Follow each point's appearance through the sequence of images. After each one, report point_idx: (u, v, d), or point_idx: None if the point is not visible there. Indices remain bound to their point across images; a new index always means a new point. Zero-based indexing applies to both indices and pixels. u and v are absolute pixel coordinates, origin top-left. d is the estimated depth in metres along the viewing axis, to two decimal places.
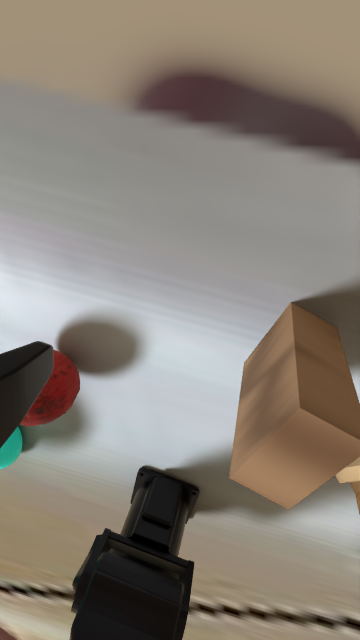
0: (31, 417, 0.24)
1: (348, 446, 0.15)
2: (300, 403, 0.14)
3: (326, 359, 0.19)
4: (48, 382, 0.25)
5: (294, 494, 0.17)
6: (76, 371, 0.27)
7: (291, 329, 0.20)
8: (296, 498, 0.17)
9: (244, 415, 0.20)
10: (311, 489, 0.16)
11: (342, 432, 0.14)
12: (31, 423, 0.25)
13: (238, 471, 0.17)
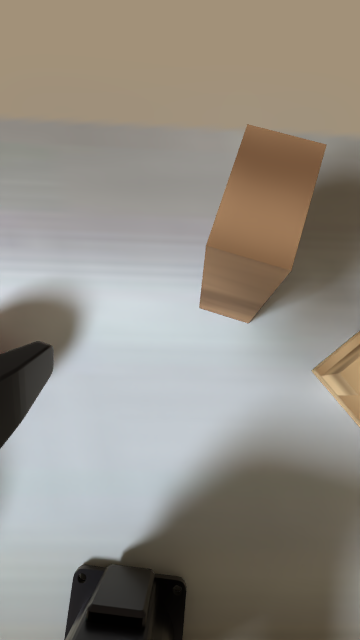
0: None
1: (306, 151, 0.15)
2: (247, 129, 0.15)
3: None
4: None
5: (286, 239, 0.14)
6: None
7: None
8: (291, 246, 0.14)
9: None
10: (301, 224, 0.14)
11: (294, 138, 0.15)
12: None
13: (213, 229, 0.14)
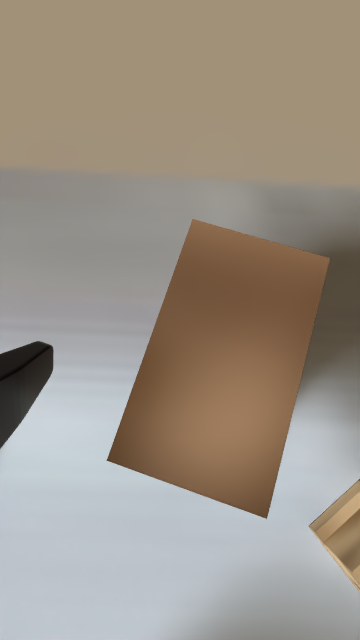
0: None
1: (295, 270, 0.08)
2: (193, 224, 0.09)
3: None
4: None
5: (259, 450, 0.07)
6: None
7: None
8: (268, 464, 0.07)
9: None
10: (285, 416, 0.07)
11: (274, 245, 0.08)
12: None
13: (123, 426, 0.07)
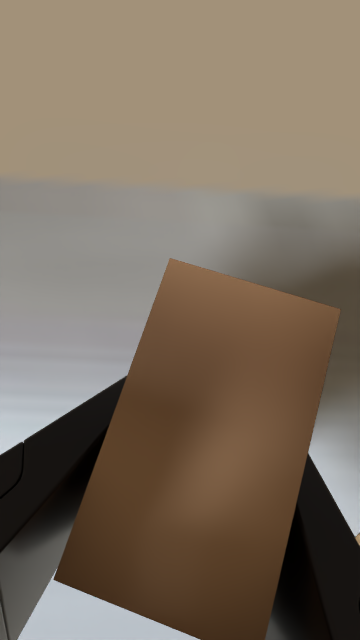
0: None
1: (297, 325, 0.07)
2: (172, 264, 0.07)
3: None
4: None
5: (250, 567, 0.06)
6: None
7: None
8: (261, 586, 0.06)
9: None
10: (284, 521, 0.06)
11: (270, 292, 0.07)
12: None
13: (76, 532, 0.06)
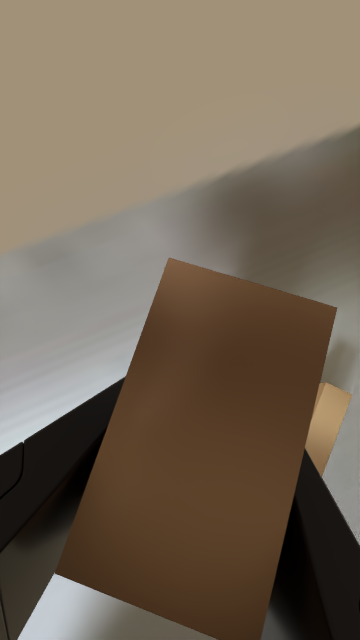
0: None
1: (294, 323, 0.07)
2: (171, 263, 0.07)
3: None
4: None
5: (247, 560, 0.06)
6: None
7: None
8: (259, 580, 0.06)
9: None
10: (281, 515, 0.06)
11: (268, 291, 0.07)
12: None
13: (76, 526, 0.06)
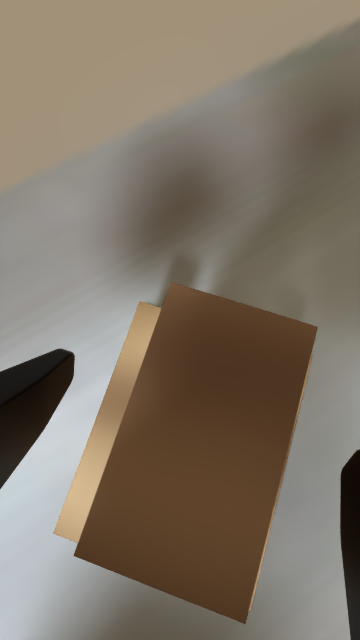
0: None
1: (280, 340, 0.08)
2: (172, 286, 0.08)
3: None
4: None
5: (238, 545, 0.07)
6: None
7: None
8: (247, 561, 0.07)
9: None
10: (267, 507, 0.07)
11: (257, 312, 0.08)
12: None
13: (92, 516, 0.07)
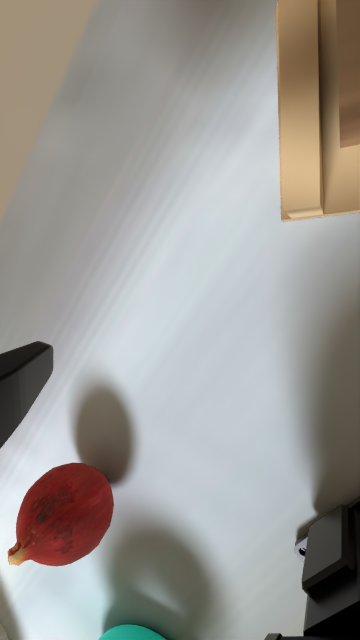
0: (38, 531, 0.20)
1: None
2: None
3: None
4: (42, 484, 0.22)
5: None
6: (87, 466, 0.24)
7: None
8: None
9: None
10: None
11: None
12: (47, 542, 0.20)
13: None
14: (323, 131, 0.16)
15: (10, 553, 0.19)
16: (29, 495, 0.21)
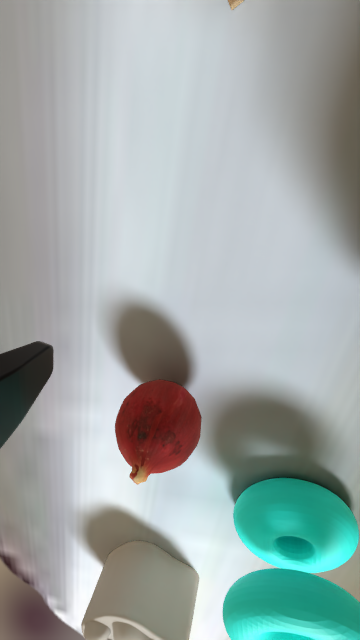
0: (146, 447, 0.20)
1: None
2: None
3: None
4: (125, 413, 0.22)
5: None
6: (154, 381, 0.24)
7: None
8: None
9: None
10: None
11: None
12: (158, 451, 0.20)
13: None
14: None
15: (132, 476, 0.20)
16: (119, 427, 0.22)
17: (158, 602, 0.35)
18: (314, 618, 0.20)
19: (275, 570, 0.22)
